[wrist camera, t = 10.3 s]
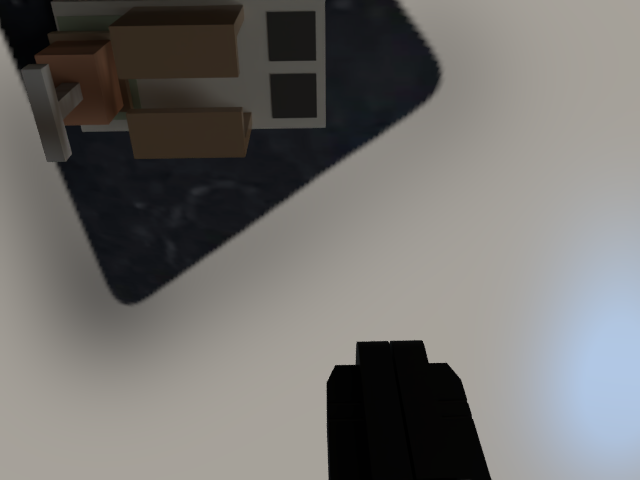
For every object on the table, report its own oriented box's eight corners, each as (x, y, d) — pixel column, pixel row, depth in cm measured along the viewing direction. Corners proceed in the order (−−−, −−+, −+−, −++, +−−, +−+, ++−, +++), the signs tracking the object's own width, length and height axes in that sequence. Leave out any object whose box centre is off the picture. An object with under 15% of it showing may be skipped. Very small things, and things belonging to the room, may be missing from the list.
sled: (51, 31, 43) (-12, 70, 34) (118, 30, 43) (72, 68, 35) (70, 109, 46) (17, 162, 38) (133, 108, 46) (94, 160, 38)
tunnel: (58, -2, 43) (12, 21, 37) (324, -6, 44) (327, 16, 37) (88, 124, 49) (52, 165, 42) (325, 121, 49) (327, 160, 42)
